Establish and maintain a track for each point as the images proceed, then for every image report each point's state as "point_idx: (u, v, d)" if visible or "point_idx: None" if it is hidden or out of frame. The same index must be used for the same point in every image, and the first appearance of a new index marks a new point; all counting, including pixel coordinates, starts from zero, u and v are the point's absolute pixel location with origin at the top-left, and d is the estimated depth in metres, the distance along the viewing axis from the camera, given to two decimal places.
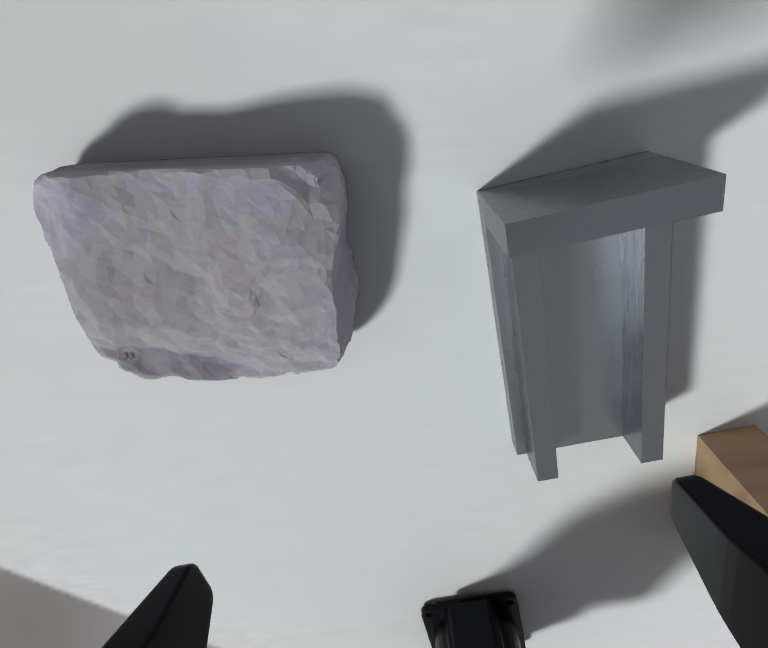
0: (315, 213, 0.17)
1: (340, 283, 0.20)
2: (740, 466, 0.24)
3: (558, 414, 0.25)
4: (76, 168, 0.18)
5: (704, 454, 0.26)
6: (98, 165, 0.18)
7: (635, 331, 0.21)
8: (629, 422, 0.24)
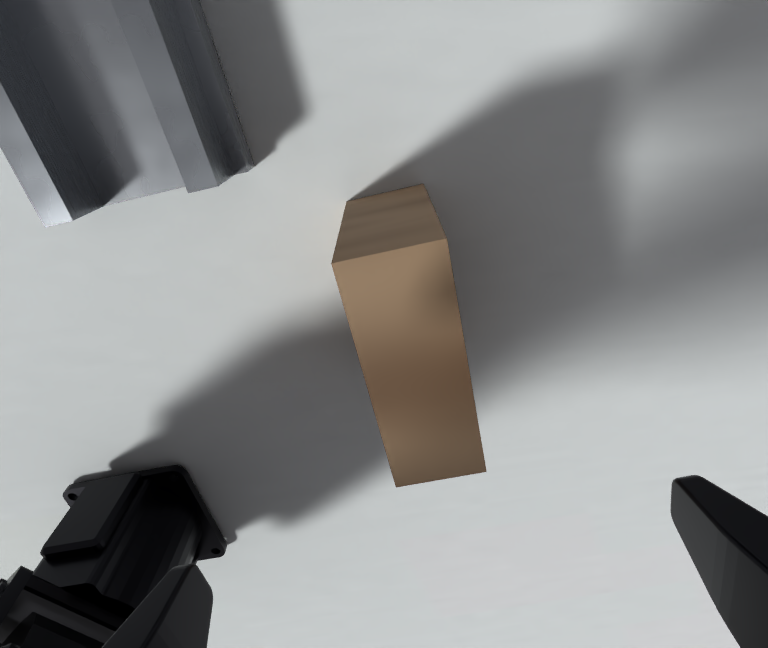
0: None
1: None
2: (360, 214, 0.16)
3: (95, 138, 0.17)
4: None
5: None
6: None
7: None
8: None
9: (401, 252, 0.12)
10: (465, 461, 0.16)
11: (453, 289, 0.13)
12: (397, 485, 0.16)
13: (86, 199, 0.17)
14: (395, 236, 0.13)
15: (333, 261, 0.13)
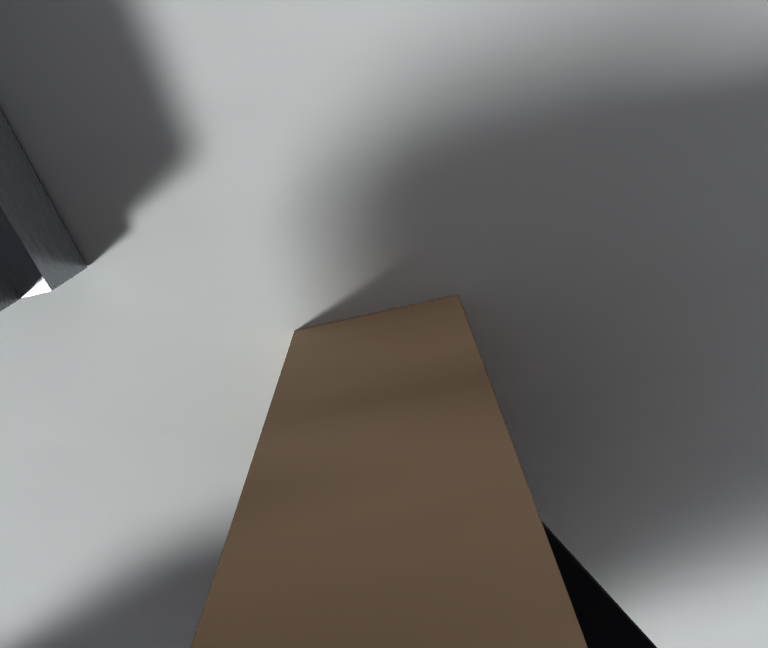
0: None
1: None
2: (311, 410, 0.06)
3: None
4: None
5: None
6: None
7: None
8: None
9: None
10: None
11: None
12: None
13: None
14: None
15: None
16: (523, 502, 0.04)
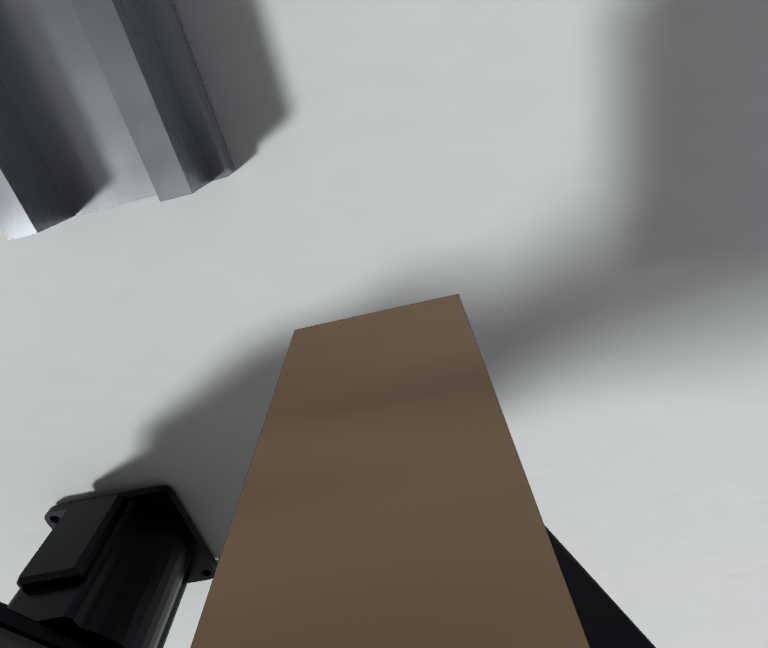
0: None
1: None
2: (311, 410, 0.06)
3: (62, 143, 0.15)
4: None
5: None
6: None
7: None
8: None
9: None
10: None
11: None
12: None
13: (53, 209, 0.16)
14: None
15: None
16: (525, 504, 0.04)
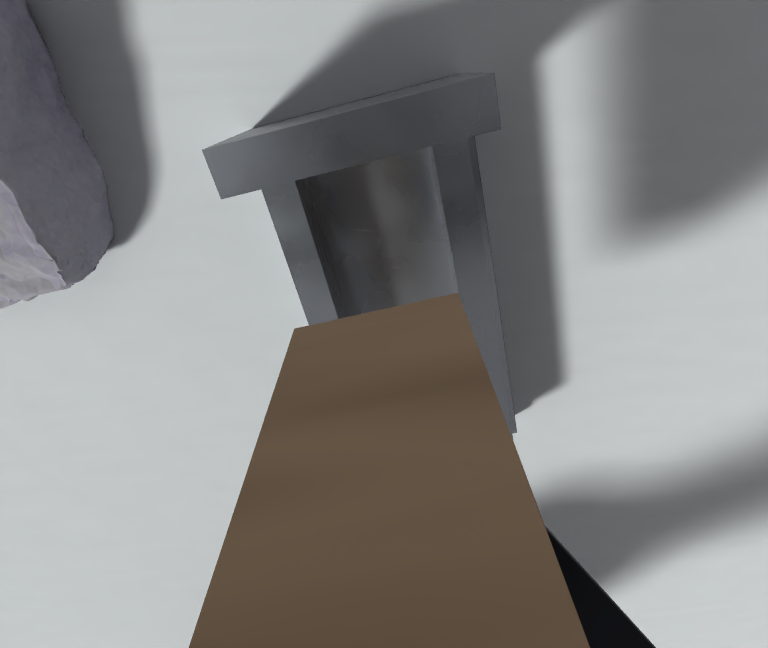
0: None
1: (37, 160, 0.14)
2: (310, 409, 0.06)
3: None
4: None
5: None
6: None
7: None
8: None
9: None
10: None
11: None
12: None
13: None
14: None
15: None
16: (524, 501, 0.04)
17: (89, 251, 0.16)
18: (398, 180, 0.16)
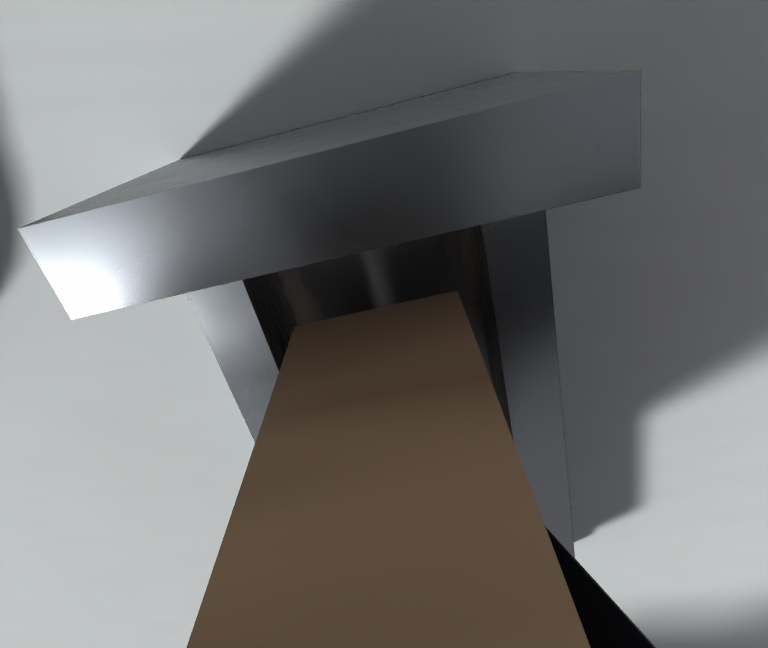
0: None
1: None
2: (310, 405, 0.06)
3: None
4: None
5: None
6: None
7: None
8: None
9: None
10: None
11: None
12: None
13: None
14: None
15: None
16: (522, 495, 0.04)
17: None
18: (412, 244, 0.10)
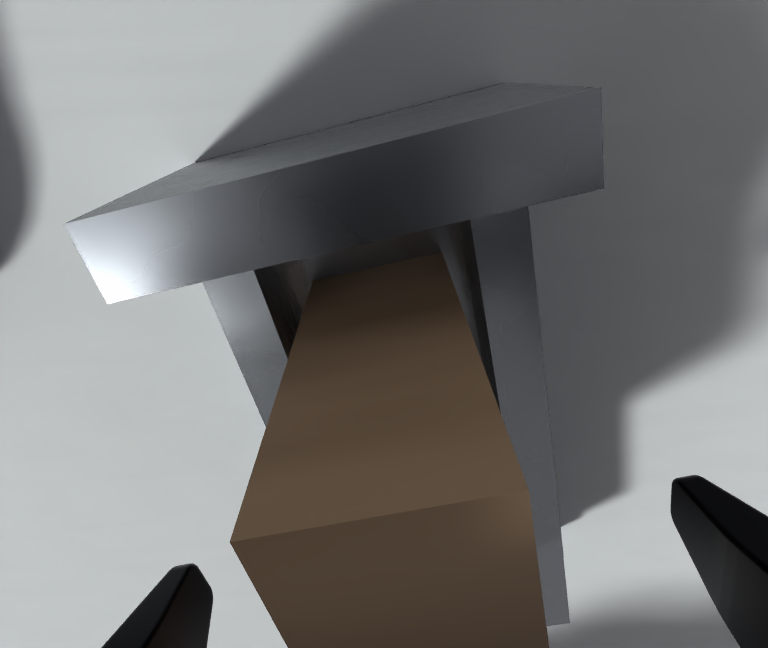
0: None
1: None
2: (329, 326, 0.09)
3: None
4: None
5: None
6: None
7: None
8: None
9: (409, 519, 0.05)
10: None
11: (535, 583, 0.05)
12: None
13: None
14: (393, 439, 0.06)
15: (237, 530, 0.05)
16: (475, 363, 0.07)
17: None
18: (408, 240, 0.11)
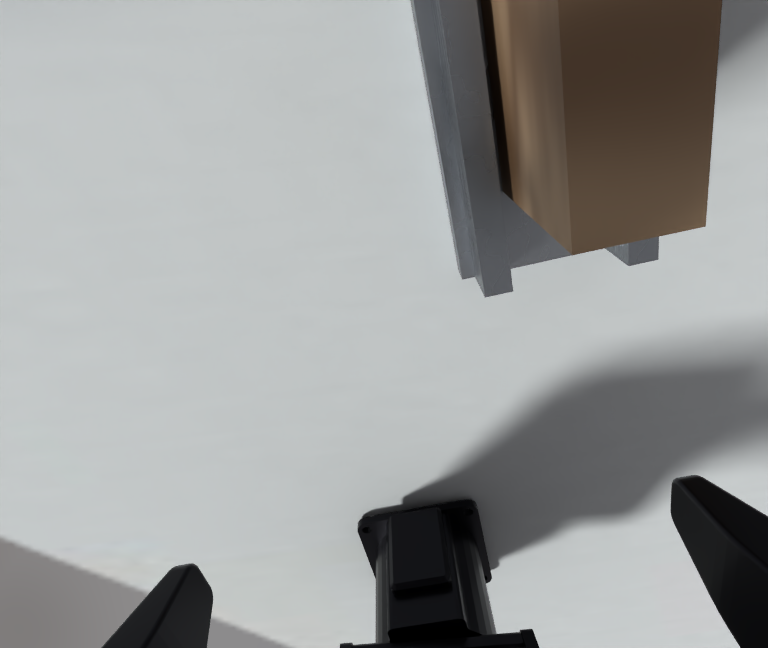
0: None
1: None
2: None
3: (514, 212, 0.18)
4: None
5: None
6: None
7: None
8: None
9: None
10: (679, 207, 0.11)
11: None
12: (575, 251, 0.11)
13: None
14: None
15: None
16: None
17: None
18: None
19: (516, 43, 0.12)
